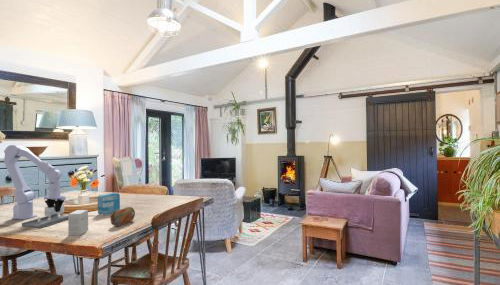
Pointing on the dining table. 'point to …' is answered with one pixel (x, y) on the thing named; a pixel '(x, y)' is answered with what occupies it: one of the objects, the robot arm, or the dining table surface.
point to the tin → (122, 216)
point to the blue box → (108, 203)
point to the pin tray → (45, 221)
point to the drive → (53, 210)
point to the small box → (77, 222)
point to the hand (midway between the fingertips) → (54, 211)
